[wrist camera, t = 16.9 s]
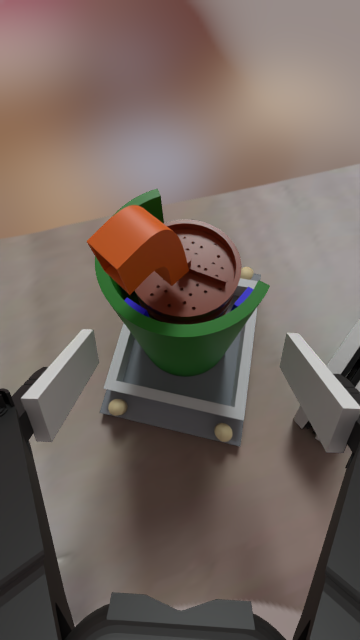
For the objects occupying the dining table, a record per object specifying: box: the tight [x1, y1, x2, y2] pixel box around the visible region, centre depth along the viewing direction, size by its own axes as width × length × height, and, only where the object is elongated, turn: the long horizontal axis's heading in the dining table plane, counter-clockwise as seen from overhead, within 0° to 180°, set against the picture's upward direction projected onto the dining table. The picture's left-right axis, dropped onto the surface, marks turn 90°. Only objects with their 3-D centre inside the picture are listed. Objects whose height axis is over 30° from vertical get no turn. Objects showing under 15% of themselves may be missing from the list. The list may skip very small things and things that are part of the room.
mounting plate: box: [100, 267, 261, 446], centre depth 28 cm, size 15×20×4 cm
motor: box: [87, 189, 270, 377], centre depth 19 cm, size 10×9×20 cm
